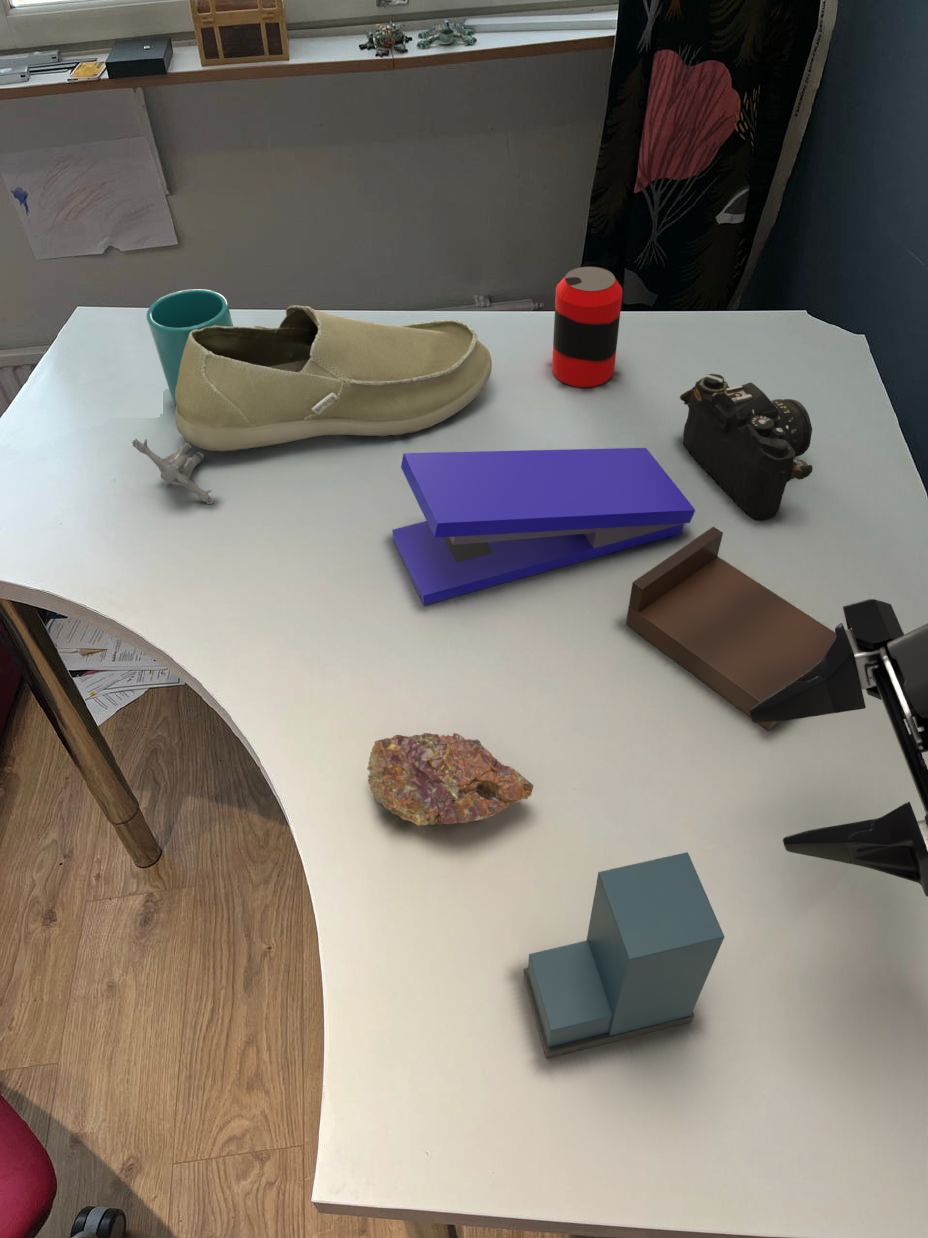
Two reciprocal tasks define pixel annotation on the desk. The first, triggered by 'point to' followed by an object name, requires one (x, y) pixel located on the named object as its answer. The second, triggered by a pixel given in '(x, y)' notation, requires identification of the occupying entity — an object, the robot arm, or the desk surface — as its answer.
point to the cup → (183, 325)
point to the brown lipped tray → (725, 625)
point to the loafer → (324, 379)
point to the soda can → (586, 326)
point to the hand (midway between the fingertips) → (766, 777)
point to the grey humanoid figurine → (176, 467)
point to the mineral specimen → (441, 779)
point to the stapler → (529, 513)
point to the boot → (628, 959)
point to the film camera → (747, 441)
